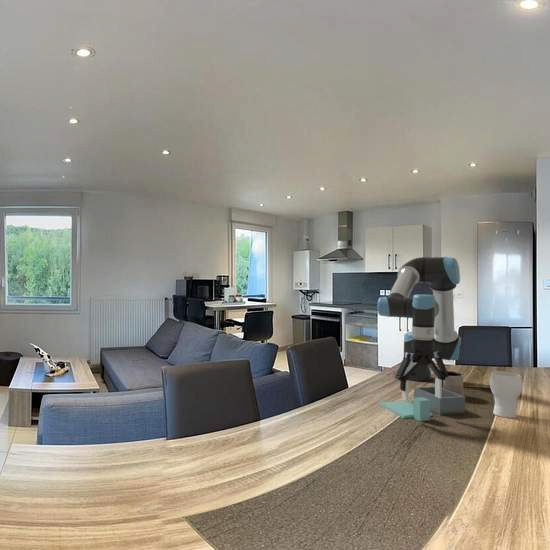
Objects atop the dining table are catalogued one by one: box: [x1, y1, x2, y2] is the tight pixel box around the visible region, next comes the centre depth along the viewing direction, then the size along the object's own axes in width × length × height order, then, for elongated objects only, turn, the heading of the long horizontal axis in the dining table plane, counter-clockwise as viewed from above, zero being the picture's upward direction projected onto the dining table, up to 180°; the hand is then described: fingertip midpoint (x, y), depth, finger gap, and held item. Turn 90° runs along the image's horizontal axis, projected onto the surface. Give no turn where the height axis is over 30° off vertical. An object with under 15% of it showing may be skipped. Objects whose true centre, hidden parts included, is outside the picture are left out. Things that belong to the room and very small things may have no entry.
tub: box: [413, 385, 466, 416], centre depth 170 cm, size 16×11×6 cm
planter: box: [435, 370, 464, 396], centre depth 188 cm, size 11×11×10 cm
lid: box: [379, 397, 433, 422], centre depth 163 cm, size 21×12×7 cm, turn 17°
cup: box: [489, 370, 523, 419], centre depth 163 cm, size 11×11×15 cm
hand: (421, 398), depth 156 cm, fingers open, 13 cm apart
